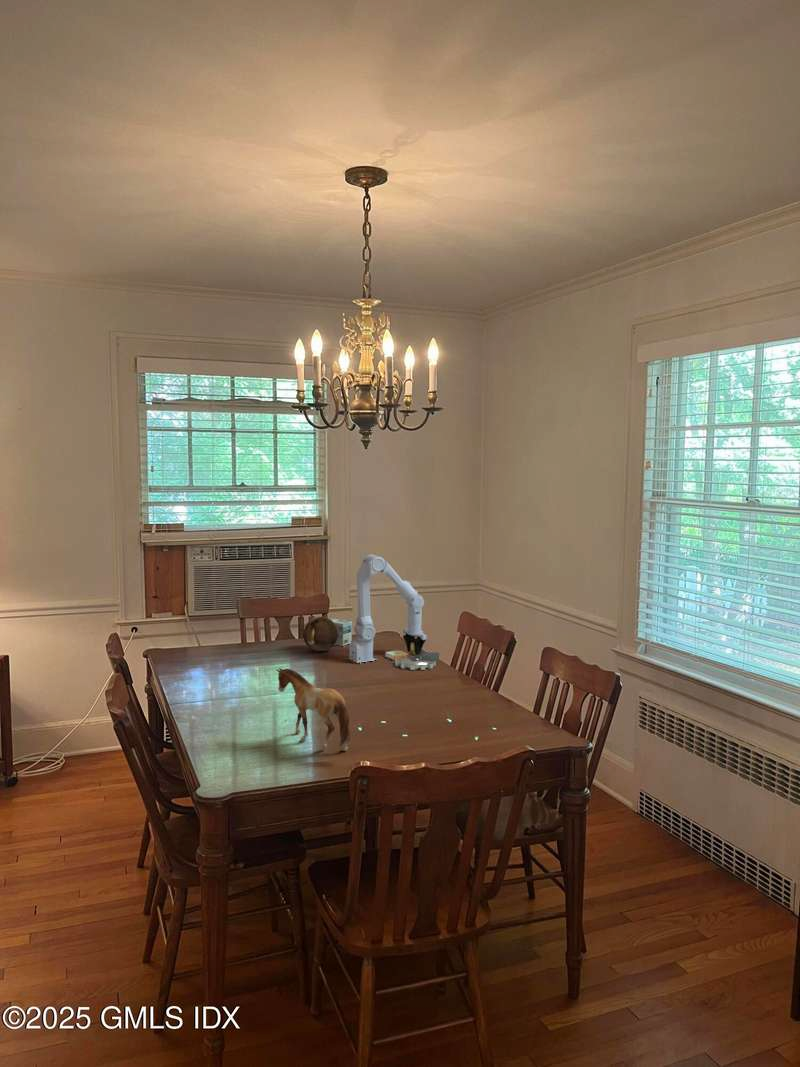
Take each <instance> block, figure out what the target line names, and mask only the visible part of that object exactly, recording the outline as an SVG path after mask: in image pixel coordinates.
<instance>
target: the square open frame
mask: <svg viewBox="0 0 800 1067" xmlns="http://www.w3.org/2000/svg"><path fill="white" fill-rule="evenodd" d="M406 655H410V653H409V652H405V651H402V650H400V649H398V650H392V651H391V650H390V651H386V652H385V658H386V657H388V658H387V659H389V658H391V659H393V660H392V661H394V660H395V659H396V658H399V656H404V657H405V656H406ZM391 659H390V660H391Z"/></svg>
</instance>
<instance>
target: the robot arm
mask: <svg viewBox="0 0 800 1067" xmlns="http://www.w3.org/2000/svg"><path fill="white" fill-rule="evenodd" d="M378 573H383V574H384V575H386V576H387V577H388V578H389V579H390V581H391V582H393V583H394V585H396V586H395V587H396V591H397V592H398V594H400V596H401V597H402V598H403V599H404V600H405V602H406V604H407V605H408V607H407V608H408V612H407V627H406V628H402V634H405V635H402V638H403V640H404V642H405V645H406V648H407V649H406V650H407V653H410V645H411V642H414V645H415V654H416V655H421V654H422V649H423V646H424V644H425V642H426V640H427V636H428V635H427V634H425V633H424V631H423V630H422V621H423V620H422V619H423V618H422V617H423V616H422V615H423V613H422V612H423V611H422V610H423V607H424V605H425V600H424V598H423V596H422V595H420V594H418V590H417V589H414V587H413V586H412V583H411V581H408V580H403V579H401V577H400V576H399V574H398V573H397V572H396V571H395V570H394V568H393V567H392V566H391V565H390V564H389V562H387V561H386V560H385V559H384V558H383V557H381V556H378V555H375V554H372V553H370V554H367V555H366V556H365V557H364V558H362V560H361V564H360V566H359V568H358V570H357V572H356V595H357V596H356V598H357V599H356V600H357V617H356V620H355V626H354V628H353V630H354V633H355V635H356V637H355V639H354V640H352V642H351V643H350V645H349V653H348V655H349V657H348V659H350V660H353V661H355V662H357V663H359V662H360V664H362V663H361V662H366V663H368V662H367V661H373V662H375V661H374V660H377V661H378V659H377V658H374V638H375V636H376V629H375V627H374V622H373V619H372V615H371V614H372V612H371V590H370V580H371V578H373V577H374V575H377V574H378ZM350 660H349V661H350ZM353 661H352V662H353ZM355 662H354V663H355ZM357 663H356V664H357Z"/></svg>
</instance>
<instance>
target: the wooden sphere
mask: <svg viewBox="0 0 800 1067" xmlns="http://www.w3.org/2000/svg"><path fill="white" fill-rule="evenodd" d="M302 633H303V634H302V636H303V641H304V643H305V644H306V646H307V647H308V648H310V650H313V651H315V652H319V651H322V652H326V651H328V650H331V649H332V648H333V647H334V646H335V645H334V644H335V643H336V641H337V638H338V630H337V627H336V625H335V624H334V622H333V621H332V620H331V619H330V618H328V617H327V616H326V617H325V616H317V617H313V618H311V619H310V620H309V621H308V622H307V623H306V624H305V625H304V628H303V632H302Z"/></svg>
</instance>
